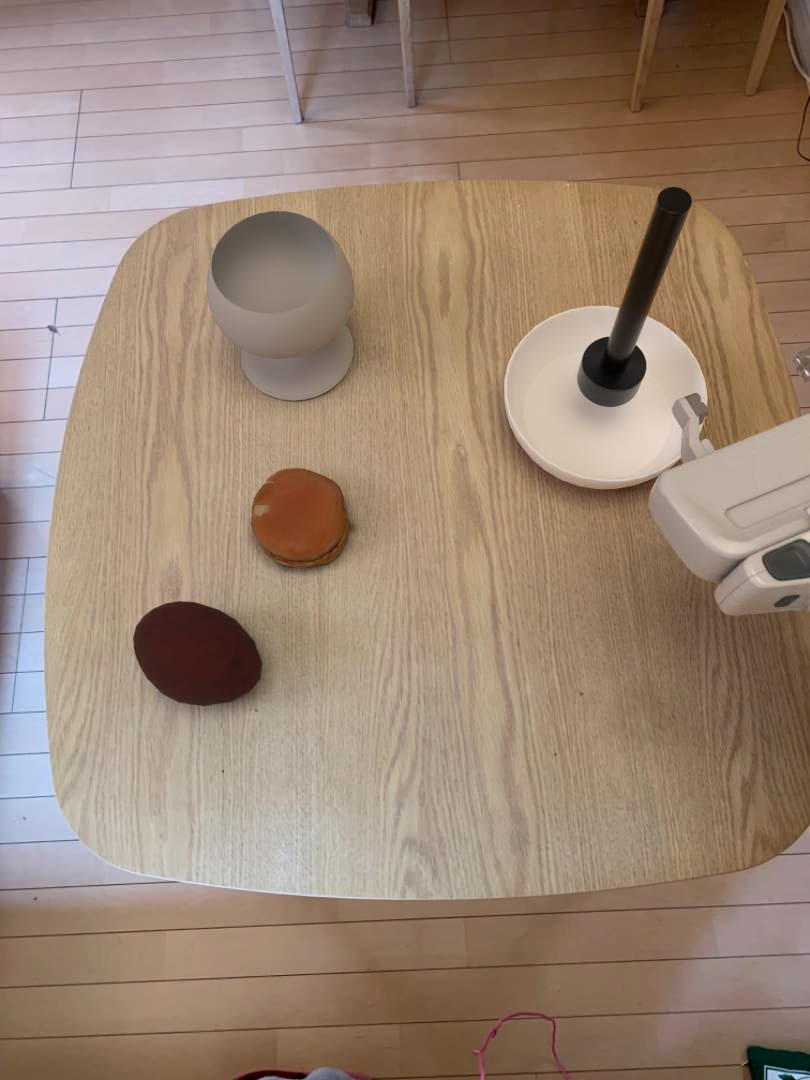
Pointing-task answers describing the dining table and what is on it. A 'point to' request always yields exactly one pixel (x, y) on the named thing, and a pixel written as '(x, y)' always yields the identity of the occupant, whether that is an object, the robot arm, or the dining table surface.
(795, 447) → the robot arm
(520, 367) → the bowl
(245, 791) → the dining table surface
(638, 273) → the rod on round base
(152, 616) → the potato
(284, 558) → the burger
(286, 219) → the chalice
